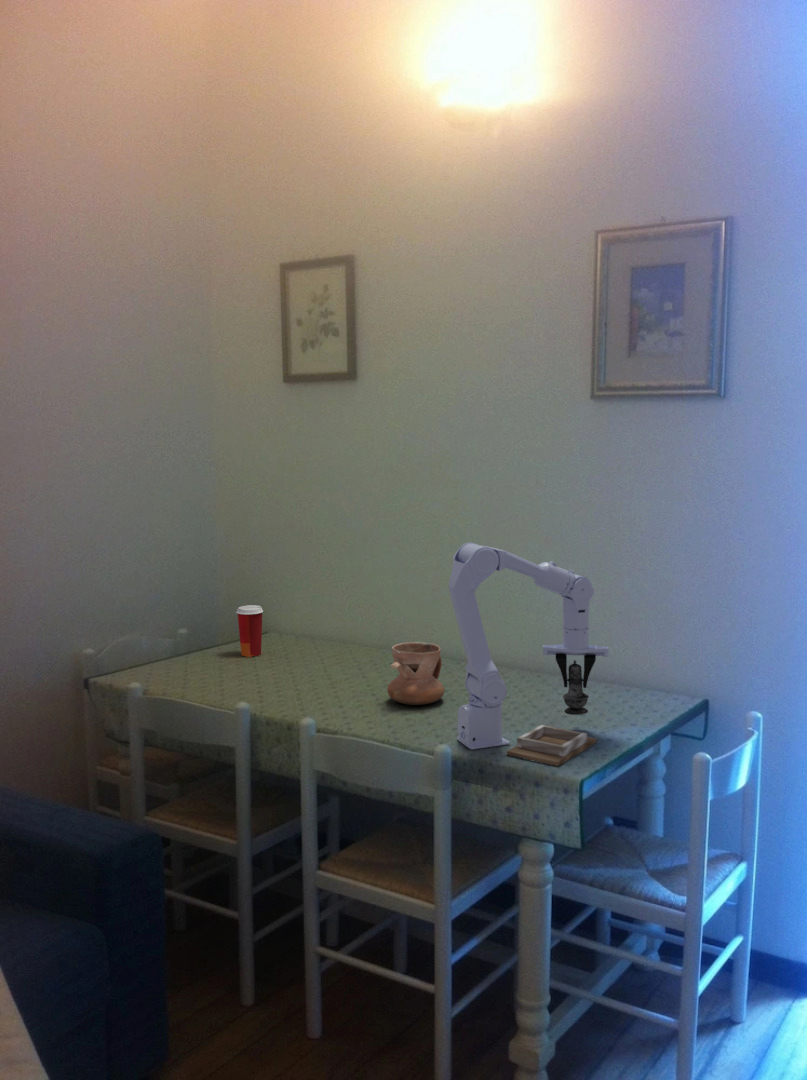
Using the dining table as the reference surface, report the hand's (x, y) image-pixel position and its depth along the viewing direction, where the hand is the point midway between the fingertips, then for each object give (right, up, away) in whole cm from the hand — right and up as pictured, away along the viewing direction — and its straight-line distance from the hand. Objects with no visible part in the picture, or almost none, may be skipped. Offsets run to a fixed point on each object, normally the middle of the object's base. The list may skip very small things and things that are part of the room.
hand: (575, 686), depth 219 cm
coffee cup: (-86, -3, +79) cm, 117 cm away
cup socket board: (-7, -12, -11) cm, 18 cm away
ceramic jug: (-35, -8, +27) cm, 45 cm away
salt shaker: (0, -6, +1) cm, 6 cm away
